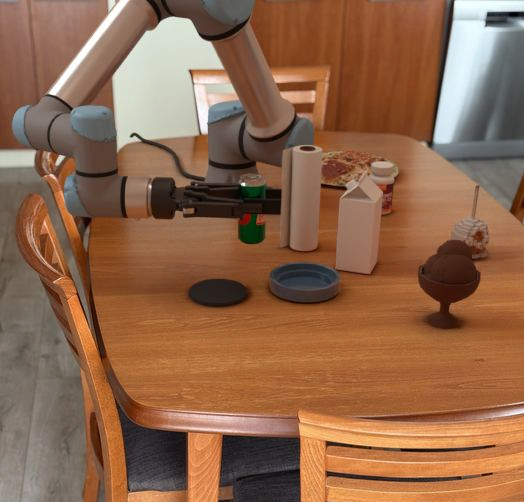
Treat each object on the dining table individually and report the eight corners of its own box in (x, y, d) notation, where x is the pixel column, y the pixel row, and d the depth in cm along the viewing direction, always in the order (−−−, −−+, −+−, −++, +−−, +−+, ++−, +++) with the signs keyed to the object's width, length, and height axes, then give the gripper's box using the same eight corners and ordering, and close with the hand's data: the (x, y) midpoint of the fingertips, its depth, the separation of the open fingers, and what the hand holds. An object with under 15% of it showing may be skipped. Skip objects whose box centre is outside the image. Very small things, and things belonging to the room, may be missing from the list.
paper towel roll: (321, 244, 185) (327, 146, 175) (311, 254, 180) (316, 153, 170) (291, 238, 187) (294, 141, 177) (279, 248, 183) (282, 148, 172)
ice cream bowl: (405, 309, 157) (413, 232, 150) (464, 307, 158) (475, 231, 151) (419, 336, 148) (429, 255, 141) (482, 334, 149) (495, 254, 142)
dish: (255, 287, 165) (255, 274, 163) (304, 269, 173) (304, 256, 171) (304, 310, 156) (304, 296, 155) (353, 290, 164) (354, 277, 163)
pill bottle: (373, 216, 201) (377, 169, 195) (360, 208, 206) (364, 162, 200) (396, 213, 203) (400, 166, 197) (383, 205, 208) (386, 159, 202)
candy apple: (474, 264, 177) (485, 194, 169) (442, 254, 181) (450, 185, 174) (493, 253, 182) (504, 185, 175) (461, 244, 186) (470, 177, 179)
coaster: (177, 292, 162) (177, 289, 162) (221, 277, 169) (221, 273, 168) (214, 312, 155) (214, 308, 155) (259, 295, 162) (259, 291, 161)
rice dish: (368, 201, 214) (370, 180, 211) (274, 176, 226) (275, 156, 223) (414, 173, 234) (417, 154, 232) (326, 153, 247) (328, 134, 244)
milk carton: (377, 262, 177) (385, 172, 168) (369, 275, 171) (377, 182, 162) (343, 257, 179) (349, 168, 170) (334, 270, 173) (340, 178, 164)
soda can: (262, 246, 155) (263, 182, 150) (235, 244, 156) (235, 180, 150) (267, 236, 160) (268, 173, 154) (241, 234, 160) (241, 171, 155)
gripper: (160, 201, 164) (281, 205, 164) (145, 235, 149) (279, 239, 148) (158, 163, 161) (282, 166, 160) (143, 193, 145) (281, 197, 144)
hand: (281, 201), depth 154 cm, fingers closed on soda can, 5 cm apart
